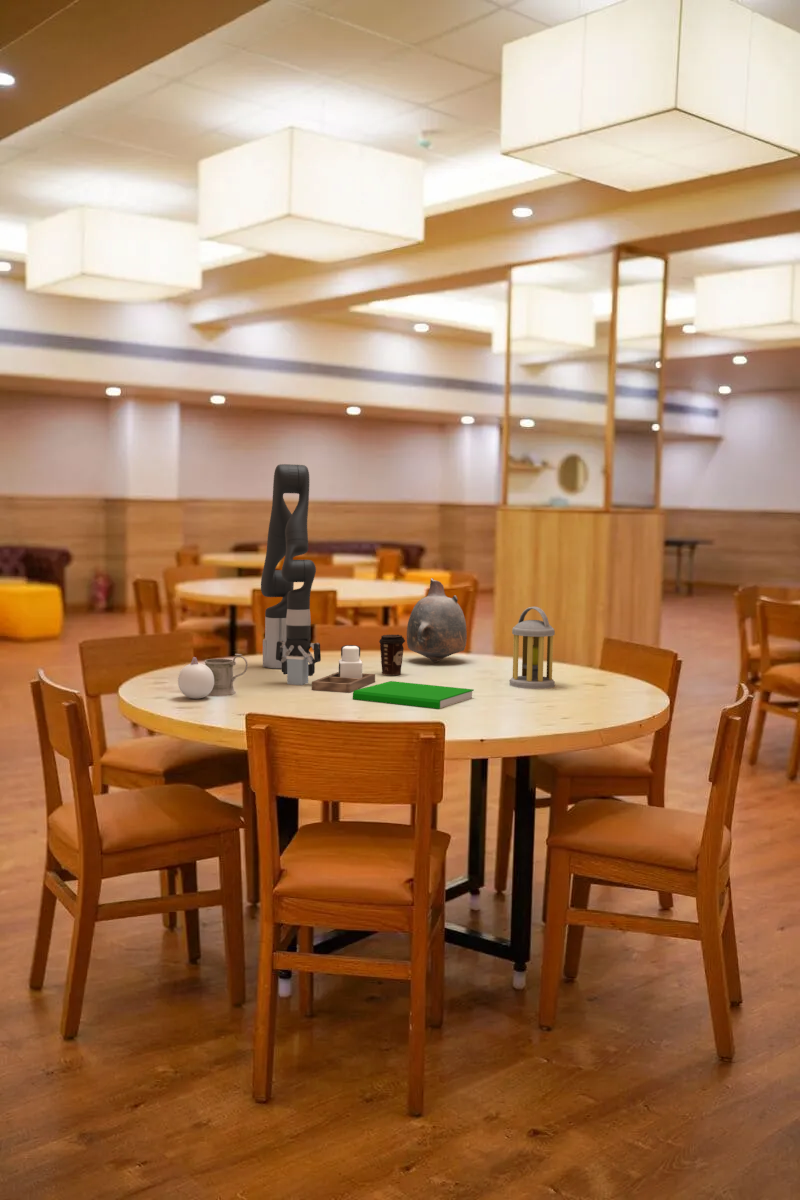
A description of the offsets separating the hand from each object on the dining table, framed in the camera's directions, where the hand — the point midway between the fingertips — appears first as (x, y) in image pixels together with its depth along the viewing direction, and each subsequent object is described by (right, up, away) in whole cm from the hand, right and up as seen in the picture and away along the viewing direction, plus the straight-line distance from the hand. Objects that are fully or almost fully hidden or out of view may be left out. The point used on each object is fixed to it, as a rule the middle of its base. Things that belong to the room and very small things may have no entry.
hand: (298, 674), depth 374 cm
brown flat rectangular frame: (+15, -3, -3) cm, 15 cm away
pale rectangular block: (0, -3, 0) cm, 3 cm away
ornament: (-27, -5, -30) cm, 40 cm away
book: (+36, -6, -24) cm, 44 cm away
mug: (-20, -4, -20) cm, 29 cm away
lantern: (+74, -4, +5) cm, 74 cm away
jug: (+45, +1, +54) cm, 70 cm away
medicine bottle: (+16, -3, +2) cm, 17 cm away
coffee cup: (+29, -1, +22) cm, 37 cm away
